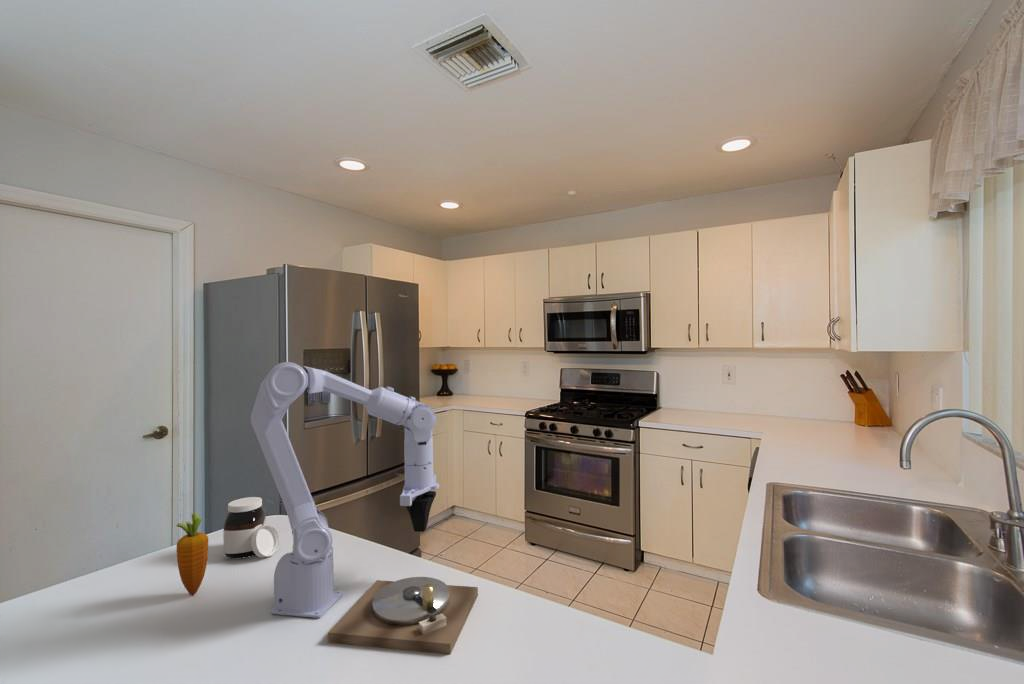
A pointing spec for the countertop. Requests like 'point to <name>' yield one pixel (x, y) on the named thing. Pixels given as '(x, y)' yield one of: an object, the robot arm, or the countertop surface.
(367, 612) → the stand
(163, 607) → the countertop surface
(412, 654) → the countertop surface
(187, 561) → the carrot
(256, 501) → the spread jar
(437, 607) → the cam dial
